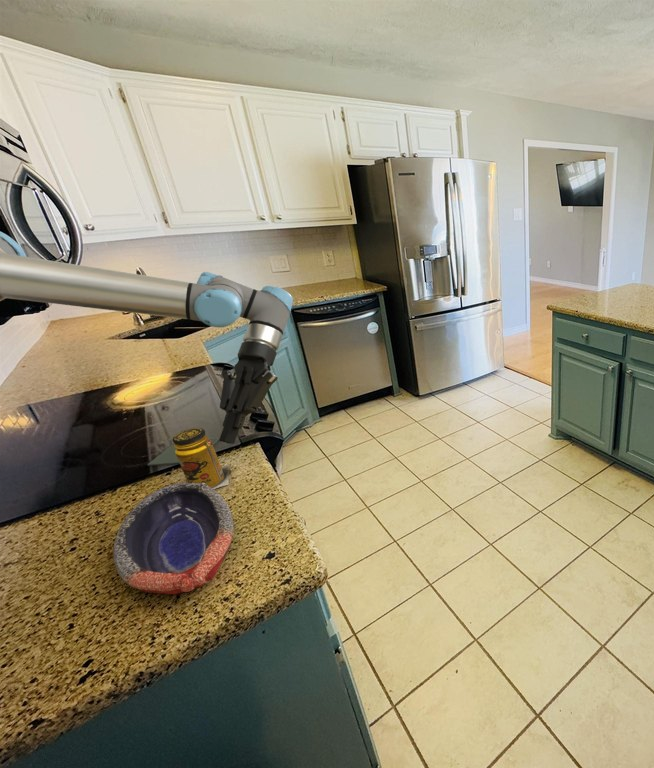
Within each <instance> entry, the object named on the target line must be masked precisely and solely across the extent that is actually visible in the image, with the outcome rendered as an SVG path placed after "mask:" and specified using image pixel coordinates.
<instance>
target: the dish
mask: <svg viewBox="0 0 654 768" xmlns="http://www.w3.org/2000/svg"><path fill="white" fill-rule="evenodd" d="M234 531H235V525H234V518H233V514H232V512H231V508H230V506H229V504H228V502H227V501H226V500H225V499H224V497H223V496H222V495H221V494H220V493H219V492H218V491H216V489H212V488H211V487H209V486H208V485H206V484H205V483H188V482H179V483H173V484H170V485H167V486H164V487H161V488H159V489H157V490H156V491H154V492H151V494H149V495H147V496H146V497H145V498H143V499H142V500H140V501H139V502H138V503H137V504H136V505H135V506H134V507H133V508H132V509H131V510H130V511H129V512H128V514H127V515H126V517H125V518H123V521H122V523H121V524H120V526H119V528H118V531H117V533H116V535H115V539H114V542H113V549H112V552H113V554H112V555H113V562H114V567H115V569H116V572H117V574H118V575H119V577H120V578H121V579H122V581H123V582H124V583H126V584H127V585H128V586H130V587H132V588H134V589H136V590H139V591H142V592H145V593H151V594H165V595H176V594H178V595H179V594H181V593H188V592H190V591H193V590H194V589H197V588H200V587H202V586H205V585H207V584H208V583H209V582H211V581H212V580H213V579H214V578H215V577H216V575H217V573H218V571H219V569H220V567H221V566H222V564H223V562H224V560H225V558H226V557H227V555H228V553H229V551H230V549H231V545H232V542H233V536H234Z"/></svg>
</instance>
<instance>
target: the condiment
mask: <svg viewBox="0 0 654 768" xmlns="http://www.w3.org/2000/svg"><path fill="white" fill-rule="evenodd" d="M209 439H210V438H209V437H208V435H207V433H206V430H205V429H204V428H200V427H195V428H189V429H185V430H183V431H181V432H178V433H177V434H175V435H174V436H173V438H172V443H174V444H175V448H176V451H175V453H176V456H177V458H178V461H179V463H180V464H179V466H180V468H181V470H182V472H183V475H184V477H185V480H186V483H205V484H206V485H208V486H209V487H211V488H212V489H213V490H216V489H219V488H221V487H224V486H229V484H230V463H228V464H226V465H223V466H222V465H221V463H220V461H219V460H220V459H219V458H218V455H217V452H216V450H215V447H214V445H213V444H212V442H211V440H209Z"/></svg>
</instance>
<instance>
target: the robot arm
mask: <svg viewBox="0 0 654 768" xmlns="http://www.w3.org/2000/svg"><path fill="white" fill-rule="evenodd" d="M5 299H10V300H19V301H28V302H29V301H30V302H37V303H45V304H54V305H62V306H71V307H80V308H88V309H96V310H97V309H98V310H104V311H105V310H106V311H114V312H122V313H132V314H138V315H139V314H141V315H148V316H157V317H165V318H174V319H181V320H182V319H183V320H192V321H198V322H202V323H203V324H205V325H207V326H210V327H213V328H226V327H229V326H231V325H232V324H234V323H235V322H236V321H237V320H238V319H239V318H242V319H245V320H249V323H248V326H247V329H246V331H245V333H244V335H243V338H242V341H243V342H241V344H240V347H239V349H238V352H237V358H238V361H237V362H236V364H235V365H234V366H233V368H232V369H230V370H227V369H224V370H223V371H222V378H223V381H222V389H221V396H220V402H219V409H221V410H223V411H224V412H225V416H224V419H223V421H222V427H223V428H222V430H221V433H220V436H219V440H218V442H222V443H225V444H231V445H235V443H236V439H237V437H238V434H239V431H240V430H241V429H242V428H243V426H244V423H245V420H246V418H247V416H248V415H249V414H256V413H257V411H258V410H259V408H260V406H261V405H262V403H263V401H264V399H265V397H267V396H266V395H267V394H268V392H269V390H270V389H271V387H272V385H273V384H274V383H275V382H276V381H278V379H279V377H278V375H276V374H274V373H272V371H271V370H272V369H271V367H272V366H273V365H274V364H275V360H276V357H277V353H278V350H279V348H280V344H281V341H282V339H283V335H284V332H285V329H286V328H287V324H288V321H289V319H290V315H291V314H292V312H291V311H292V307H293V304H294V298H293V295H291V294H290V293H289V292H288V291H287V290H285V289H283V288H281V287H279V286H273V285H265V286H263V287H262V288H261V289H260V290H258V289H254V288H251V287H249V286H247V285H244V284H242V283H239V282H236V281H235V280H234V281H233V280H231V279H229V278H226V277H225V276H224V277H223V276H222V275H219V274H215V273H212V272H209V271H203V272H201V273H200V274H199V277H198V279H197V281H196V282H195V283H194V282H188V281H181V280H178V279H177V280H176V279H170V278H163V277H157V276H151V275H144V274H140V273H139V274H138V273H131V272H125V271H119V270H118V271H117V270H112V269H106V268H99V267H95V266H94V267H93V266H88V265H82V264H81V265H80V264H75V263H68V262H61V261H55V260H49V259H42V258H36V257H31V256H27V255H26V253H25V251H24V249H23V248H22V246H21V245H20V244H19V243H18V242H17V241H15V239H13V238H12V237H11V236H9V235H8V234H6V233H4V232H2V231H0V302H1V301H4V300H5Z"/></svg>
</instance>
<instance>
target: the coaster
mask: <svg viewBox="0 0 654 768" xmlns="http://www.w3.org/2000/svg"><path fill="white" fill-rule="evenodd" d="M208 439H209V440H211V442H212V444H213V446H214V445H216V443H217V442H219V439H220V437H217V438H208ZM175 451H176V448H175V444H174V442H172V444H170V445H169V446H167V448H166V449H164V450H163V451H161V453H160V454H159V455H157V456H156V457H155V458H153V459H152V460H151V461H150V462H149V463H147V467H153V466H166V465H180V463H179V461H178V458H177V456H176V453H175Z"/></svg>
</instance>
